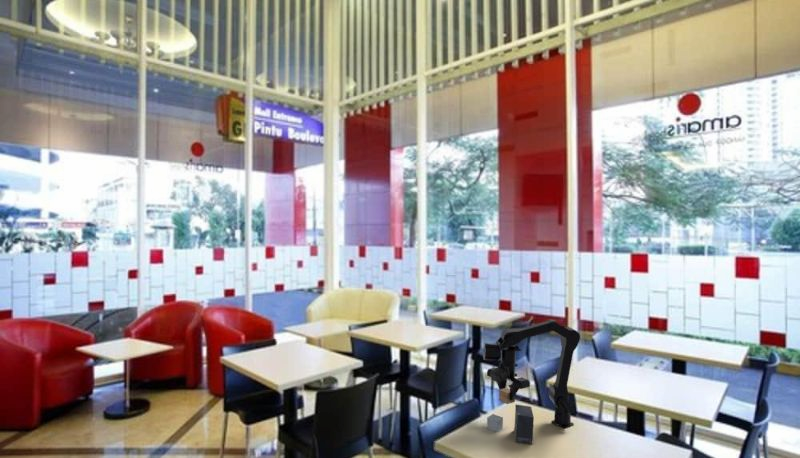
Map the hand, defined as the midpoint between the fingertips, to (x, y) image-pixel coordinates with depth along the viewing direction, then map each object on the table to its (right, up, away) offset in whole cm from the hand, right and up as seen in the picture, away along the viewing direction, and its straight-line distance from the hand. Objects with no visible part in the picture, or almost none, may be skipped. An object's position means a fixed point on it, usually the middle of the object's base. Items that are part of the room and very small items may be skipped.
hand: (506, 398), depth 183 cm
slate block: (-6, -9, -7) cm, 13 cm away
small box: (+3, -10, -14) cm, 17 cm away
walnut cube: (0, -1, 0) cm, 1 cm away
